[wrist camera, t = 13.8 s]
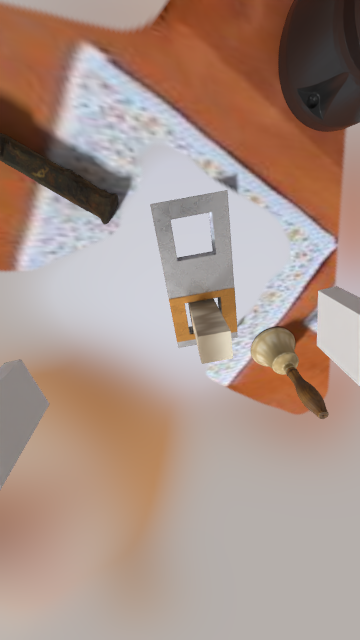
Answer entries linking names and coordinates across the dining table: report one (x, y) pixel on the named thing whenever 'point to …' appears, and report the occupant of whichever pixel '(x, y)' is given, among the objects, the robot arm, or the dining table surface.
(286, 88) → the robot arm
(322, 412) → the hand bell
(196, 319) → the peg
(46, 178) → the hand tool
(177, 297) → the grey board
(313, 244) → the dining table surface
